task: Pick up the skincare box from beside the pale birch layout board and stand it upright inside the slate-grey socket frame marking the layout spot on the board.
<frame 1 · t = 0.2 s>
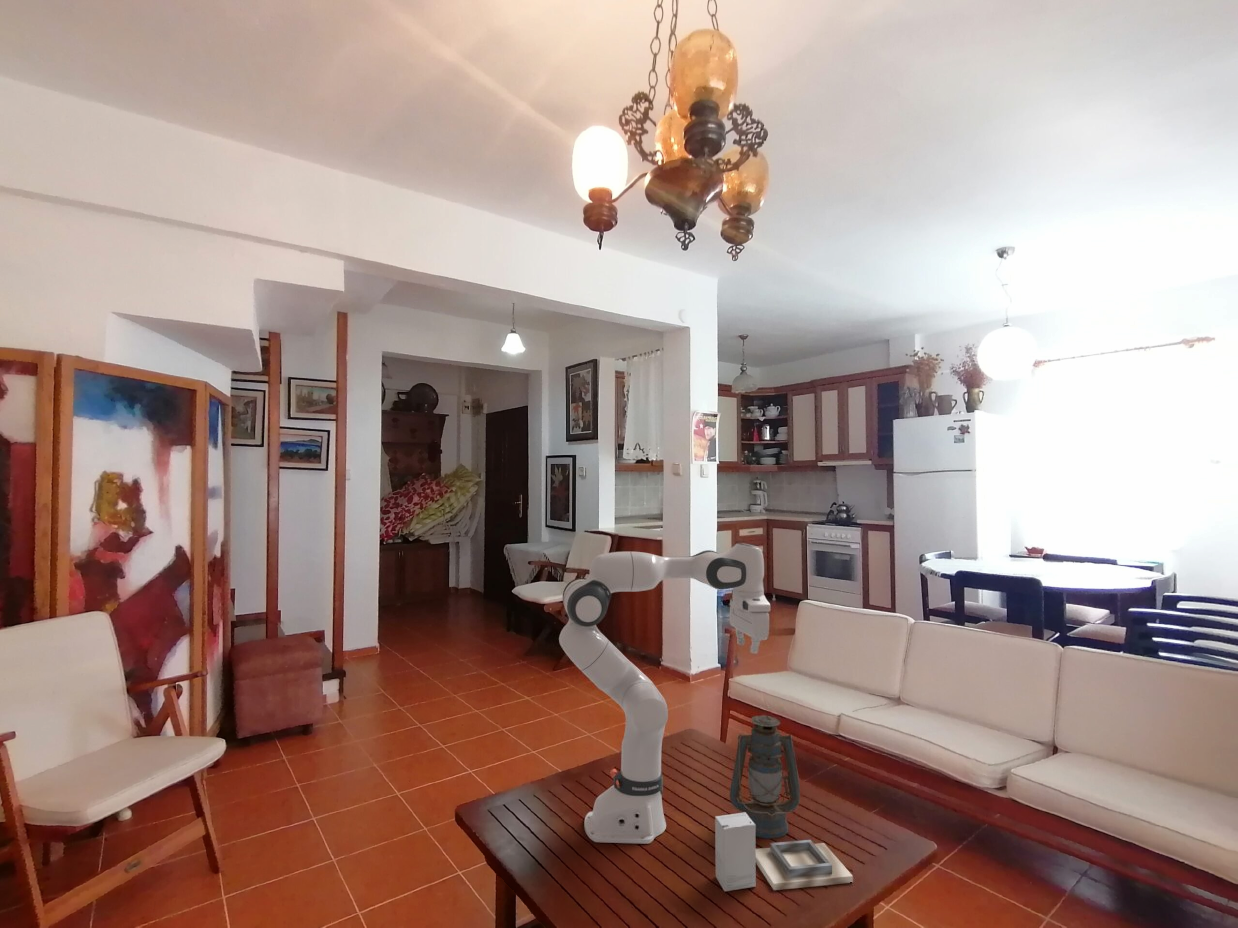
hand: (747, 648, 180), 47 cm above the table, fingers open, 8 cm apart
skincare box: (734, 883, 148), on the table
lantern: (765, 827, 173), on the table
layout board: (800, 868, 155), on the table
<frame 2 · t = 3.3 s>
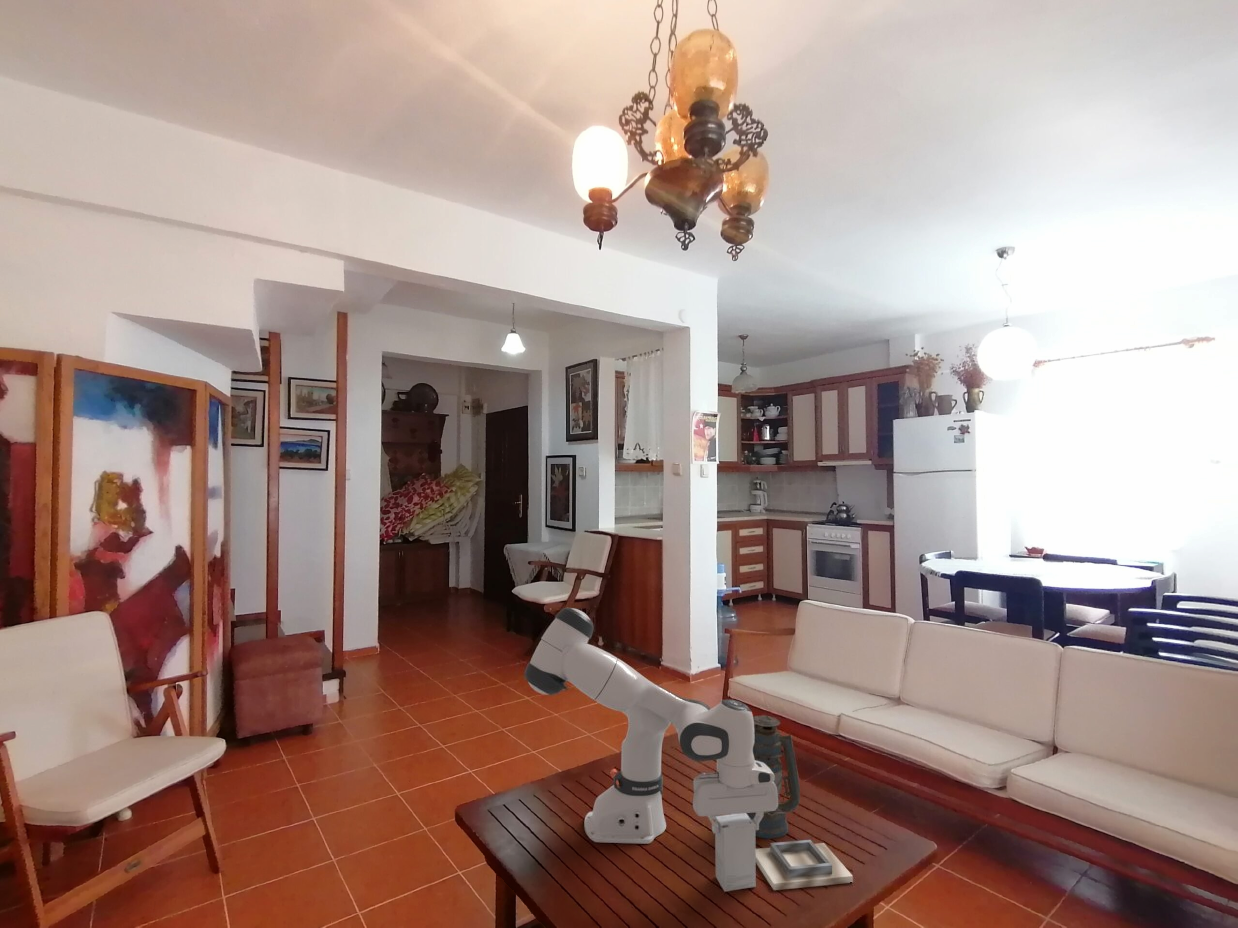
hand: (735, 830, 149), 12 cm above the table, fingers open, 8 cm apart
skincare box: (734, 883, 148), on the table, touching gripper
everything else where it was.
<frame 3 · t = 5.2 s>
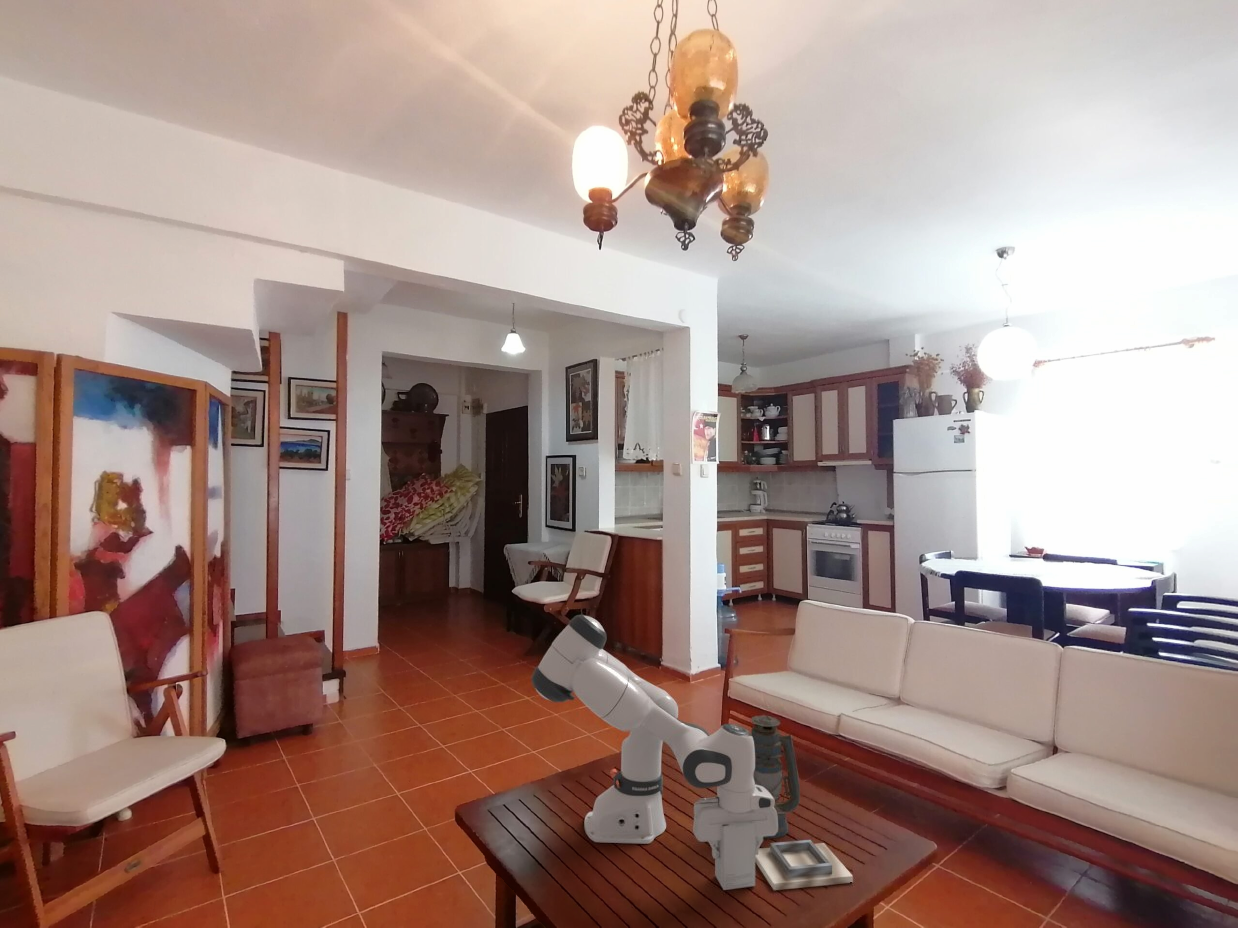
hand: (735, 855, 149), 6 cm above the table, fingers closed on skincare box, 8 cm apart
skincare box: (734, 882, 149), on the table, touching gripper
everything else where it was.
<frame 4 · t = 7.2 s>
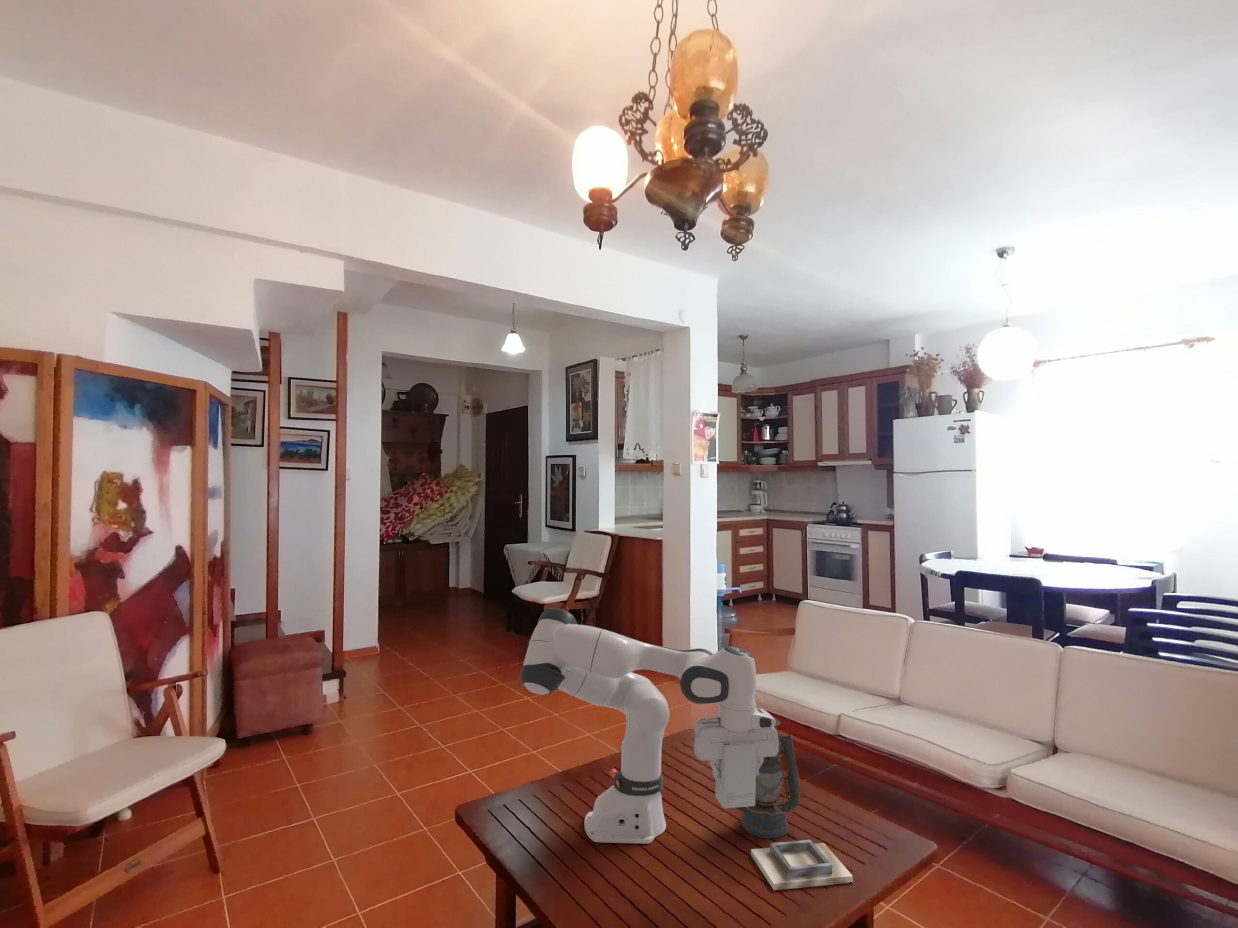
hand: (735, 775, 149), 25 cm above the table, fingers closed on skincare box, 8 cm apart
skincare box: (734, 803, 149), point 18 cm above the table, touching gripper
everything else where it was.
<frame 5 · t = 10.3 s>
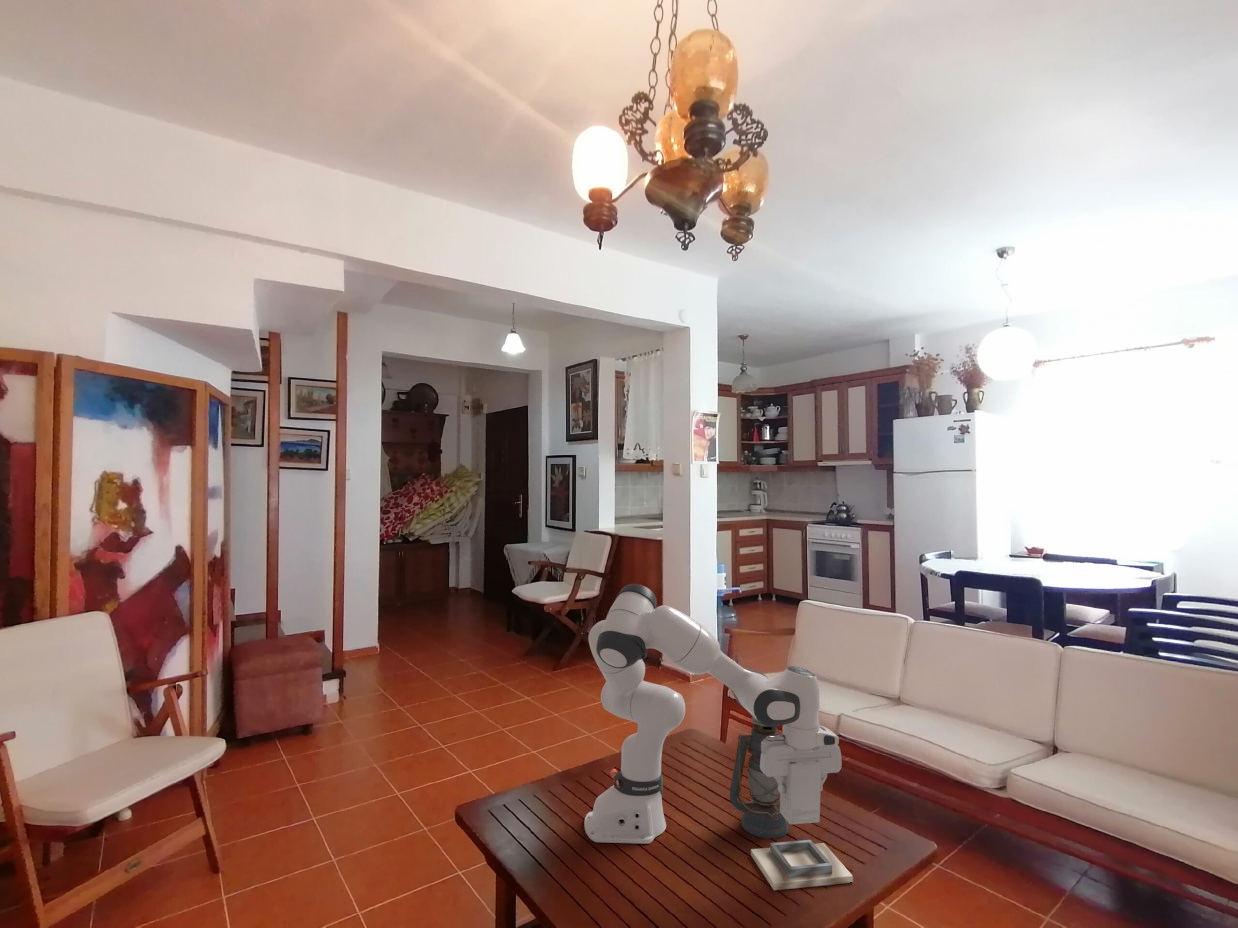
hand: (800, 790, 155), 19 cm above the table, fingers closed on skincare box, 8 cm apart
skincare box: (798, 818, 155), point 12 cm above the table, touching gripper
everything else where it was.
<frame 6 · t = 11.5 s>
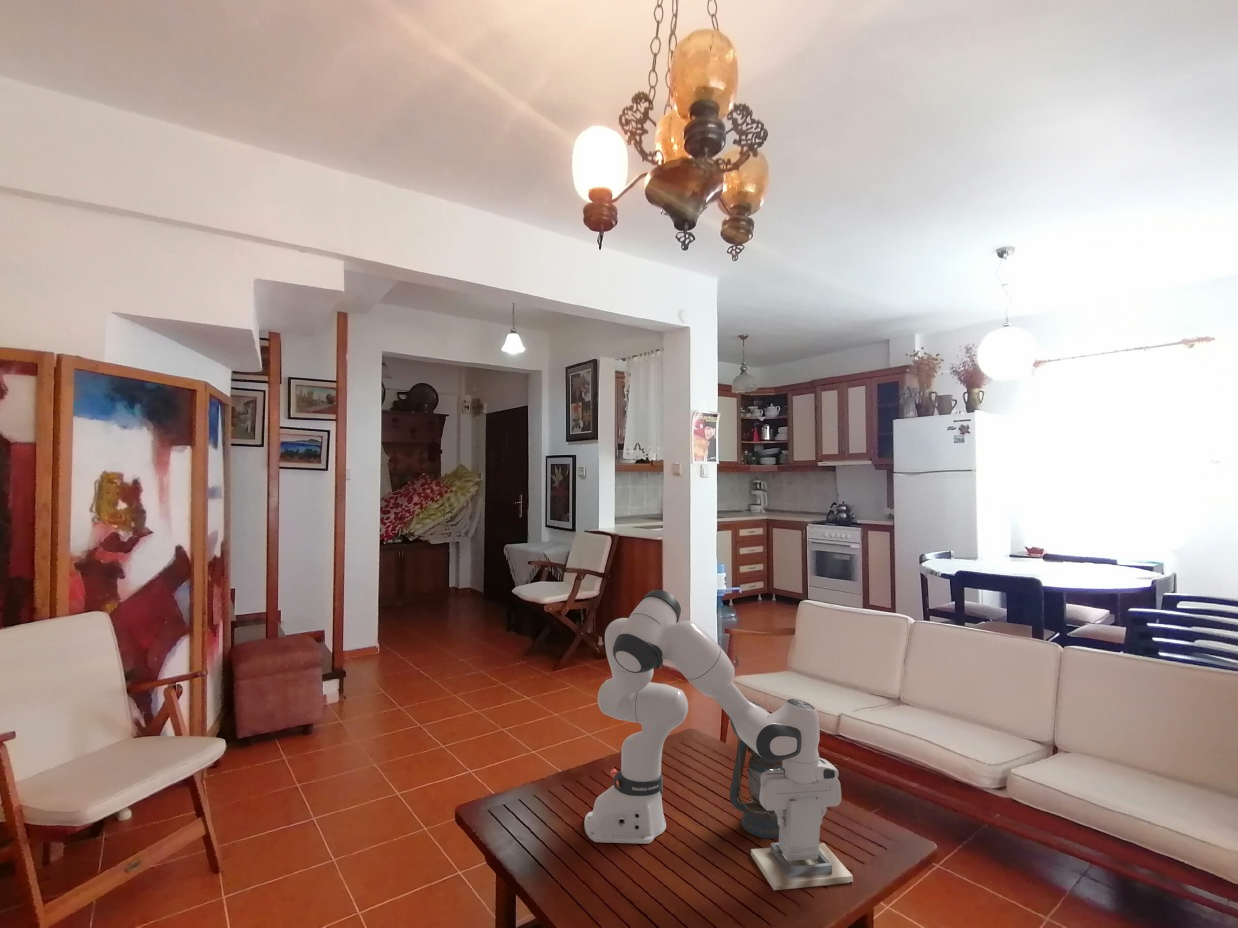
hand: (799, 824, 155), 11 cm above the table, fingers closed on skincare box, 8 cm apart
skincare box: (797, 854, 155), point 3 cm above the table, touching gripper
everything else where it was.
when the fingers open (9 cm above the table, at t = 13.3 s): skincare box stays where it is, point 2 cm above the table.
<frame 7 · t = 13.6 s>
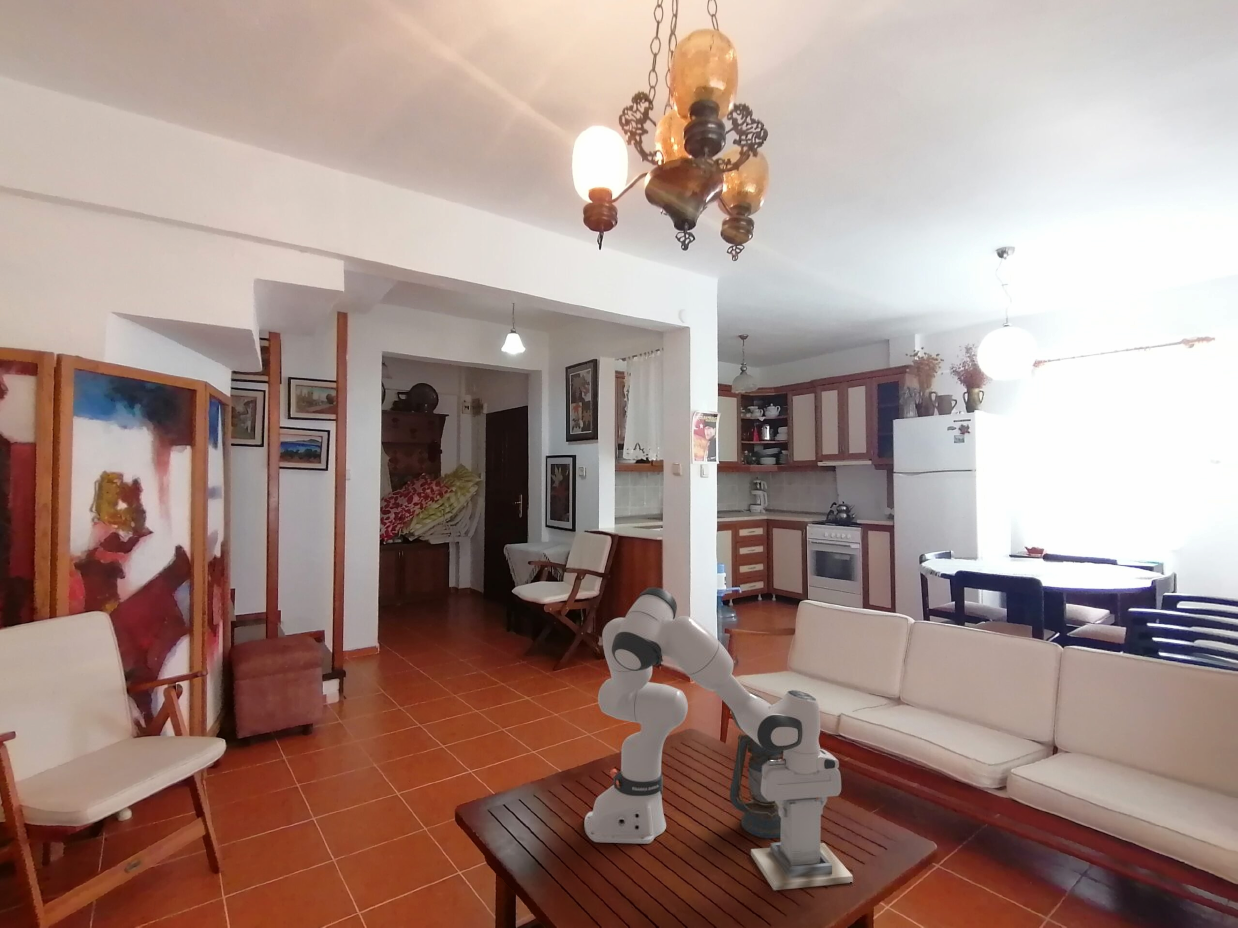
hand: (800, 814, 156), 13 cm above the table, fingers open, 8 cm apart
skincare box: (799, 859, 155), point 2 cm above the table
everything else where it was.
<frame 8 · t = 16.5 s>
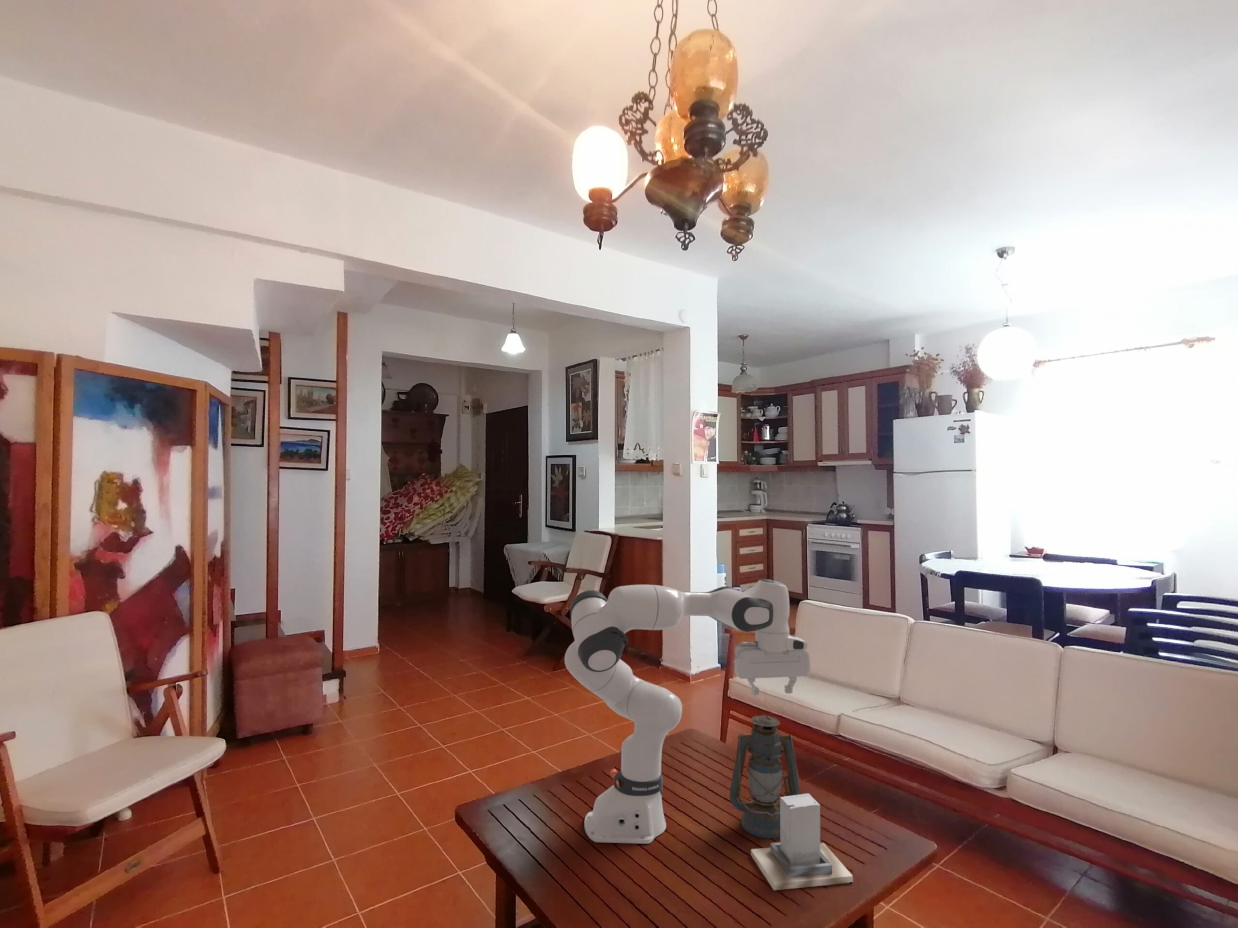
hand: (771, 693, 166), 39 cm above the table, fingers open, 8 cm apart
skincare box: (799, 861, 155), point 1 cm above the table, touching layout board
everything else where it was.
at the end: skincare box 0.7 cm off-centre on the layout board, point 1.3 cm above the layout board's base; skincare box tilted 0°; the gripper is holding nothing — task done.
